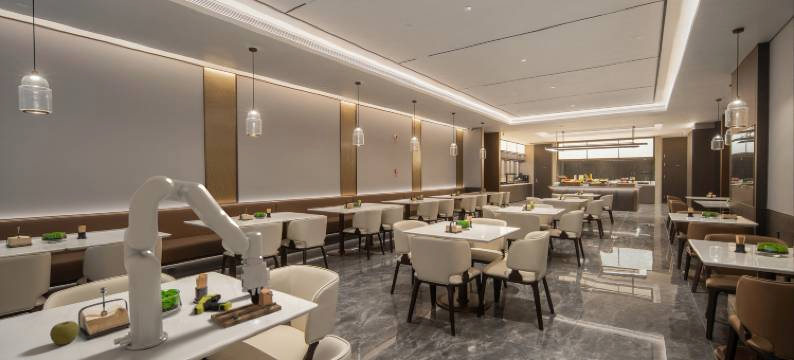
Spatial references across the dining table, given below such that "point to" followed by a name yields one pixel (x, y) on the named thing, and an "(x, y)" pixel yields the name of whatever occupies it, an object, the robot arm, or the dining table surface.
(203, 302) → the stun gun
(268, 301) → the orange tan block
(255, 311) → the wooden slatted tray
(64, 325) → the apple
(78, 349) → the dining table surface
